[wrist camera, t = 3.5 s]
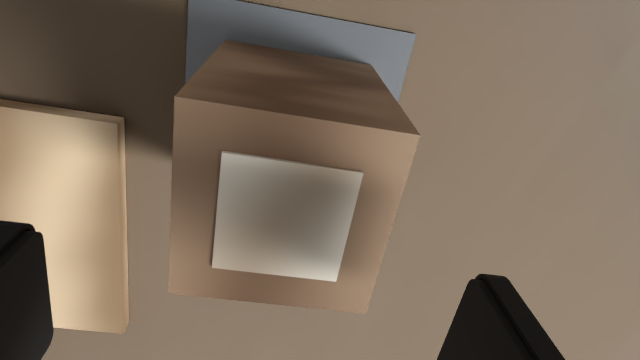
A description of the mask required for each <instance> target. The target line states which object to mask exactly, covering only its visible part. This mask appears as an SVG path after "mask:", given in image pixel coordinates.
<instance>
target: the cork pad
mask: <svg viewBox="0 0 640 360" xmlns="http://www.w3.org/2000/svg"><path fill="white" fill-rule="evenodd" d="M1 220H2V221H11V222H20V223H29V224H32V225H33V226H34V228H35V231H36V232H41V233H42V235H43V239H44V248H45V257H46V266H47V275H48V284H49V293H50V302H51V311H52V321H53V327H56V328H67V329H77V330H88V331H99V332H110V333H121V334H124V332H125V330H126V328H127V326H128V323H129V305H128V261H127V218H126V174H125V130H124V117H117V116H111V115H104V114H97V113H91V112H84V111H77V110H71V109H64V108H57V107H51V106H44V105H37V104H31V103H24V102H18V101H11V100H4V99H0V221H1Z"/></svg>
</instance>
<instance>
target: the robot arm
mask: <svg viewBox="0 0 640 360" xmlns="http://www.w3.org/2000/svg"><path fill="white" fill-rule="evenodd" d="M52 337H53V321H52V311H51V302H50V293H49V284H48V275H47V266H46V257H45V248H44V239H43V235H42V233H41V232H36V231H35V228H34V226H33V225H32V224H29V223H20V222H11V221H2V220H1V221H0V360H41V358H42V357H43V355H44V354H45V352H46V351H47V349H48V347H49V345H50V343H51V340H52ZM437 360H565V359H564V357H563V356H562V355H561V353H560V352H559V350H558V349H557V348H556V346H555V345H554V343H553V342H552V340H551V339H550V338H549V336H548V335H547V333H546V332H545V331H544V329H543V328H542V326H541V325H540V324H539V322H538V321H537V319H536V318H535V316H534V315H533V314H532V312H531V311H530V309H529V308H528V307H527V305H526V304H525V302H524V301H523V299H522V298H521V297H520V295H519V294H518V292H517V291H516V290H515V288H514V287H513V285H512V284H511V282H510V281H509V280H508V279H507V278H506V277H504V276H497V275H488V274H479V275H478V276H477V277H476V278H475V279H471V280H470V281H469V282H468V284H467V287H466V289H465V292H464V294H463V297H462V299H461V302H460V304H459V306H458V309H457V311H456V314H455V316H454V319H453V321H452V324H451V326H450V329H449V331H448V334H447V336H446V338H445V341H444V343H443V346H442V348H441V351H440V353H439V356H438V358H437Z"/></svg>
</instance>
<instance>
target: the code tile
mask: <svg viewBox="0 0 640 360" xmlns="http://www.w3.org/2000/svg"><path fill="white" fill-rule="evenodd" d="M415 37H416V34H413V33H408V32H403V31H397V30H392V29H387V28H381V27H376V26H371V25H366V24H360V23H355V22H350V21H344V20H339V19H334V18H328V17H323V16H318V15H312V14H307V13H302V12H296V11H291V10H286V9H280V8H275V7H270V6H264V5H259V4H254V3H248V2H243V1H238V0H188V22H187V46H186V70H185V84H186V83H187V82H188V81H189V80H190V78H191V77H192V76H193V75H194V74H195V73H196V72H197V71H198V69H199V68H200V67H201V66H202V65H203V64H204V63H205V62H206V61H207V59H208V58H209V57H210V56H211V55H212V54H213V53H214V52H215V50H216V49H217V48H218V47H219V46H220V45H221V44H222V43H223V42H224V40H225V39H227V40H232V41H238V42H244V43H249V44H255V45H261V46H266V47H272V48H278V49H283V50H289V51H295V52H300V53H306V54H312V55H317V56H323V57H329V58H334V59H340V60H346V61H351V62H357V63H363V64H368V65H372V66H373V68H374V69H375V71H376V72H377V73H378V75H379V76H380V78H381V79H382V81H383V82H384V84H385V85H386V86H387V88H388V89H389V91H390V92H391V94H392V95H393V97H394V98H395V99H396V101H397V102H398V100H399V96H400V93H401V89H402V85H403V81H404V78H405V74H406V70H407V67H408V63H409V59H410V55H411V52H412V48H413V44H414V41H415Z"/></svg>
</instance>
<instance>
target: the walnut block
mask: <svg viewBox="0 0 640 360" xmlns="http://www.w3.org/2000/svg"><path fill="white" fill-rule="evenodd" d="M419 138H420V134H419V133H418V131H417V130H416V128H415V127H414V125H413V124H412V123H411V121H410V120H409V118H408V117H407V115H406V114H405V112H404V111H403V110H402V108H401V107H400V105H399V104H398V102H397V101H396V99H395V98H394V97H393V95H392V94H391V92H390V91H389V89H388V88H387V86H386V85H385V84H384V82H383V81H382V79H381V78H380V76H379V75H378V73H377V72H376V71H375V69H374V68H373V66H372V65H368V64H363V63H357V62H351V61H346V60H340V59H334V58H329V57H323V56H317V55H312V54H306V53H300V52H295V51H289V50H283V49H278V48H272V47H266V46H261V45H255V44H249V43H244V42H238V41H232V40H227V39H225V40H224V42H223V43H222V44H221V45H220V46H219V47H218V48H217V49H216V50H215V52H214V53H213V54H212V55H211V56H210V57H209V58H208V59H207V61H206V62H205V63H204V64H203V65H202V66H201V67H200V68H199V69H198V71H197V72H196V73H195V74H194V75H193V76H192V77H191V78H190V80H189V81H188V82H187V83H186V84H185V85H184V86H183V87H182V88H181V90H180V91H179V92H178V93H177V94H176V95H175V96H174V124H173V157H172V189H171V221H170V254H169V286H168V293H171V294H180V295H190V296H200V297H209V298H219V299H228V300H238V301H248V302H257V303H267V304H277V305H286V306H296V307H305V308H315V309H325V310H334V311H344V312H353V313H363V314H366V313H367V309H368V306H369V303H370V300H371V296H372V293H373V290H374V286H375V283H376V280H377V276H378V273H379V270H380V267H381V263H382V260H383V257H384V253H385V250H386V247H387V244H388V240H389V237H390V234H391V230H392V227H393V224H394V221H395V217H396V214H397V211H398V207H399V204H400V201H401V198H402V194H403V191H404V188H405V184H406V181H407V178H408V174H409V171H410V168H411V165H412V161H413V158H414V155H415V151H416V148H417V145H418V142H419Z"/></svg>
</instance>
